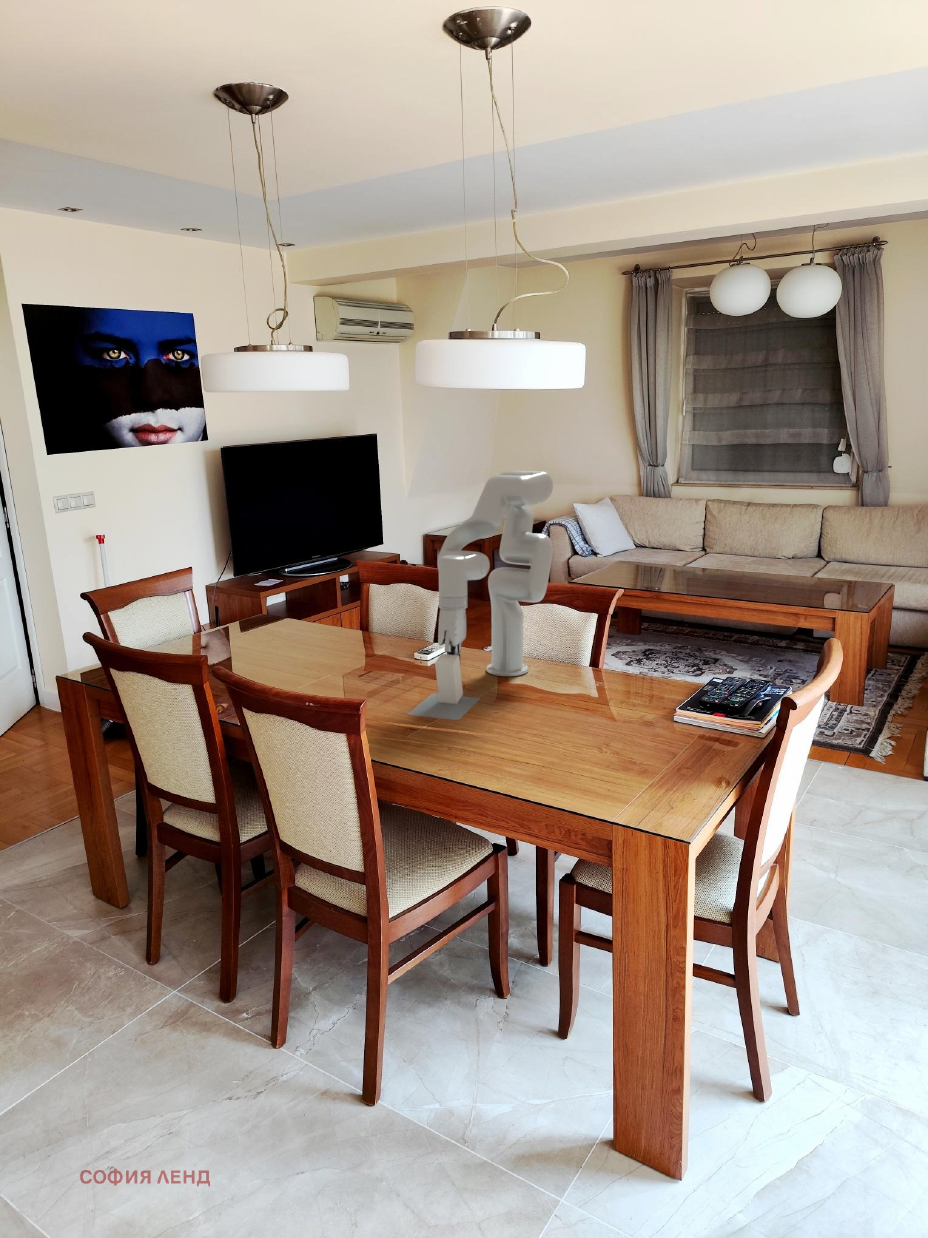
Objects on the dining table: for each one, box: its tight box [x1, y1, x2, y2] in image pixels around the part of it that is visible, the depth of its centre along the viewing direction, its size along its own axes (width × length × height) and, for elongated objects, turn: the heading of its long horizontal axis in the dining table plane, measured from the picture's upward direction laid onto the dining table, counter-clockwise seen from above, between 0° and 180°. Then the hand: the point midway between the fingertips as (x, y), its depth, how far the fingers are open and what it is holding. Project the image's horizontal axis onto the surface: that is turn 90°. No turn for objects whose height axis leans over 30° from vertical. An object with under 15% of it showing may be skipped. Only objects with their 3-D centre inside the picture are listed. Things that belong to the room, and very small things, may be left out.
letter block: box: [434, 653, 464, 704], centre depth 225 cm, size 5×5×12 cm
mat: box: [407, 692, 481, 721], centre depth 223 cm, size 18×14×1 cm
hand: (453, 668), depth 228 cm, fingers closed
